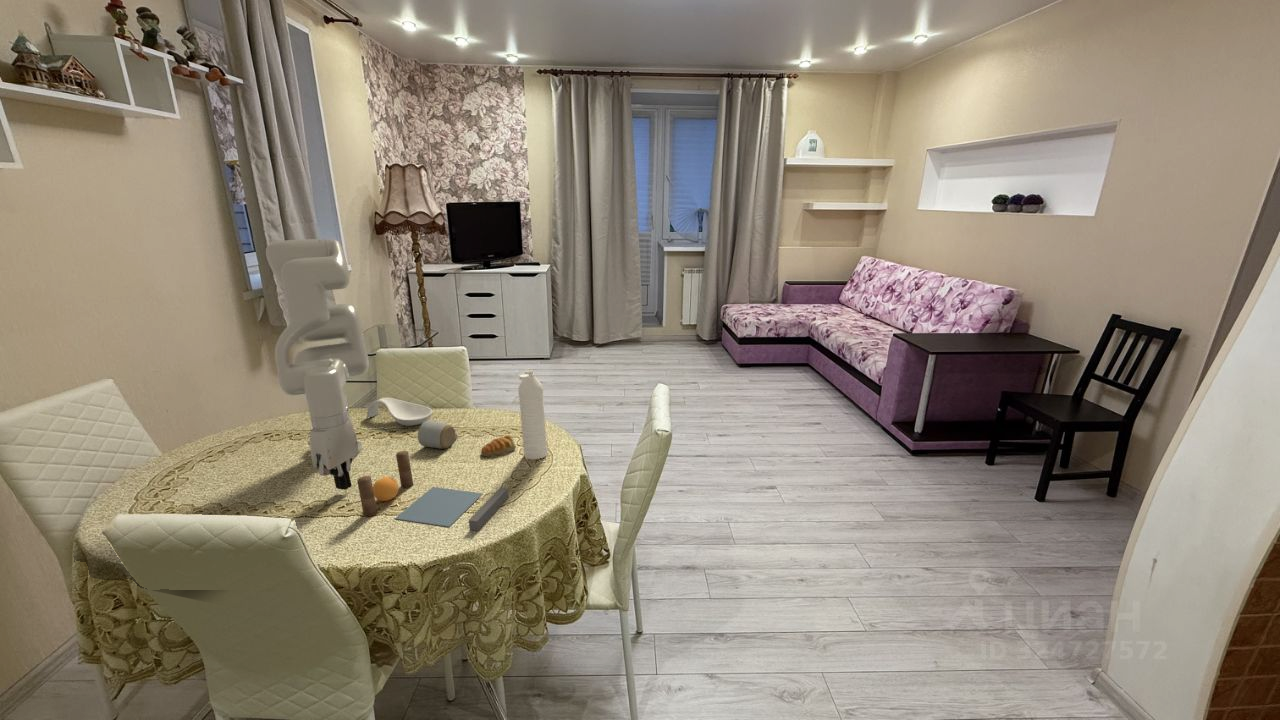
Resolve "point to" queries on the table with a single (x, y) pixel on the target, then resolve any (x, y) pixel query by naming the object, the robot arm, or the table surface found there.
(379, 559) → the table surface
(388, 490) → the ball
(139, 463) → the table surface
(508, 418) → the table surface
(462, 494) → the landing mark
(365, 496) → the post
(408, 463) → the post
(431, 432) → the ceramic mug
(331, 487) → the table surface
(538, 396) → the water bottle
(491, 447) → the pastry
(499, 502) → the wall
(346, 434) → the robot arm
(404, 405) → the spoon rest
